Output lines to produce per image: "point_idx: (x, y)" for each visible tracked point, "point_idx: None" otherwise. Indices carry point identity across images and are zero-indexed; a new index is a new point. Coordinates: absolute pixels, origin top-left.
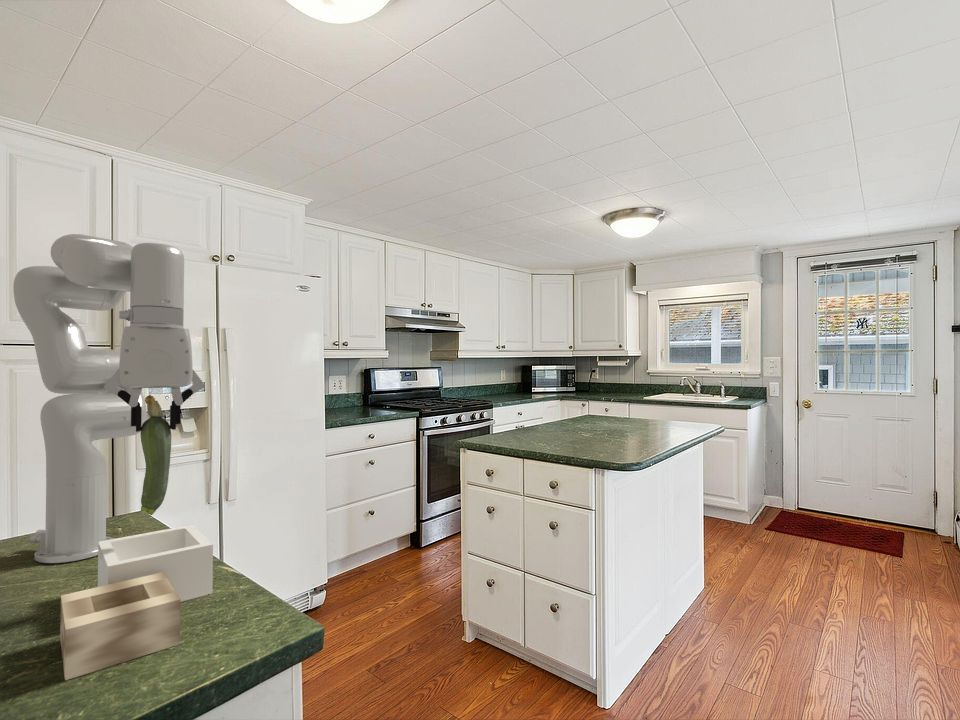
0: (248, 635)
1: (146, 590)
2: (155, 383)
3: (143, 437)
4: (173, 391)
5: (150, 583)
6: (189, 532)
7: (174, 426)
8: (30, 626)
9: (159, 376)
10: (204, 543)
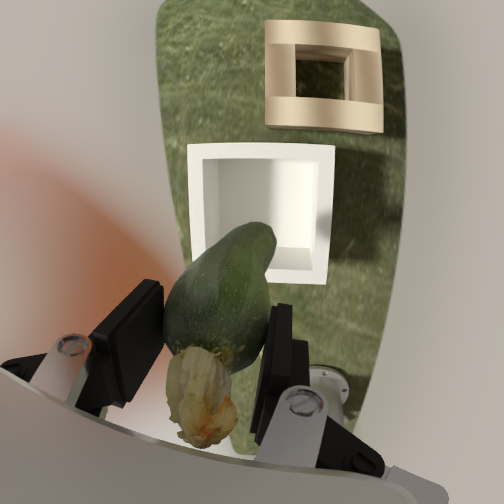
0: (208, 19)
1: (295, 71)
2: (122, 456)
3: (265, 292)
4: (59, 395)
5: (287, 92)
6: (204, 236)
7: (147, 283)
8: (387, 197)
9: (58, 496)
10: (196, 158)
